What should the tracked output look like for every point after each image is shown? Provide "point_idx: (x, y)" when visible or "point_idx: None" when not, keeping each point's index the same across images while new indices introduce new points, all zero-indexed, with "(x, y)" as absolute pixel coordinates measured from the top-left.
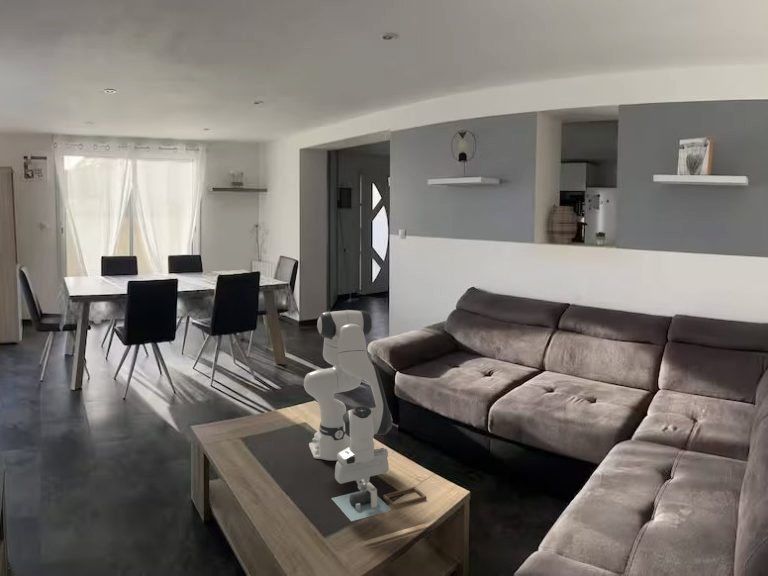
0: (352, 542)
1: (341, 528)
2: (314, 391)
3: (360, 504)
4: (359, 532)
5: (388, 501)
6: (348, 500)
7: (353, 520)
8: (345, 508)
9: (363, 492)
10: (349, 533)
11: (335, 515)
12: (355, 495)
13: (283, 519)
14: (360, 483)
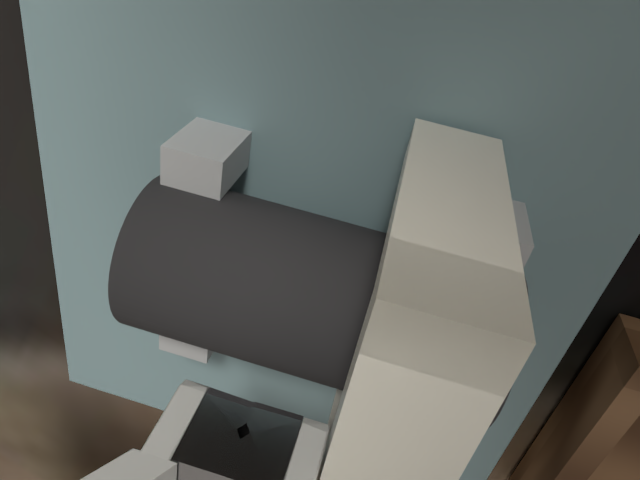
0: (29, 465)
1: (4, 341)
2: None
3: (208, 359)
4: (105, 443)
5: (563, 449)
6: (208, 74)
7: (91, 383)
8: (96, 202)
9: (308, 351)
10: (40, 409)
11: (2, 169)
12: (160, 324)
13: None
14: (194, 477)
